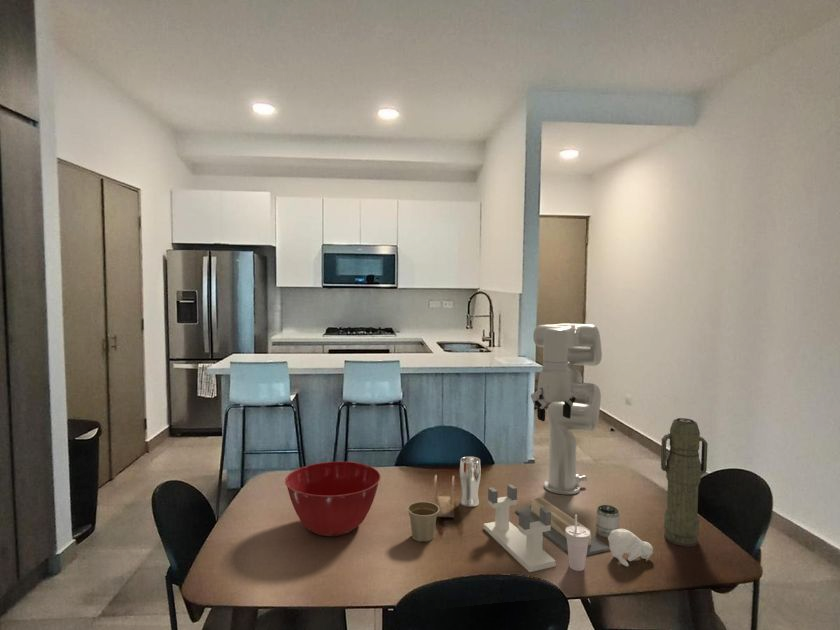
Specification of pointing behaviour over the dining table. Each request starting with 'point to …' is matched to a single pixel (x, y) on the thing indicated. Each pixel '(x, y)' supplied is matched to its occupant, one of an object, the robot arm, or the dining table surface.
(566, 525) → the rail
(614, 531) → the white animal figurine
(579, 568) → the smoothie
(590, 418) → the robot arm
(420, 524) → the flower pot
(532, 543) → the hook stand
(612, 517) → the camera lens
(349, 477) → the mixing bowl
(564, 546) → the mat
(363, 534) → the dining table surface
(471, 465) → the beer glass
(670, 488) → the thermos
